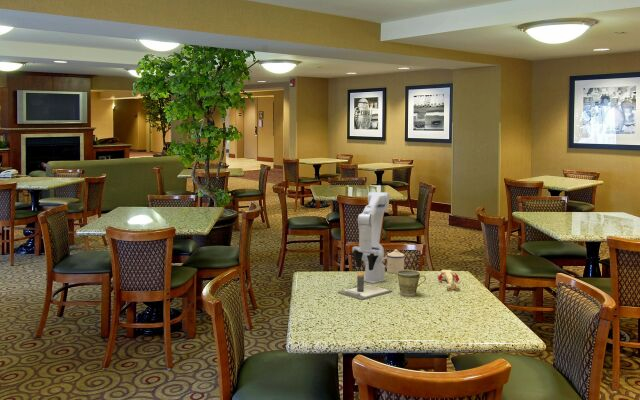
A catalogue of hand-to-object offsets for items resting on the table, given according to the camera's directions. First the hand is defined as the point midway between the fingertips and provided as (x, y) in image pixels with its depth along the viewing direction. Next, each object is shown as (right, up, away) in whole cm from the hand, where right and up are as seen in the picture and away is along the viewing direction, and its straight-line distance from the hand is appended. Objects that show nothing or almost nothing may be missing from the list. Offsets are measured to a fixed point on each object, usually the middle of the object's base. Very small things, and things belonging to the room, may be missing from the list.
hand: (364, 268), depth 276 cm
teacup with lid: (+17, -6, +34) cm, 39 cm away
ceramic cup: (+20, -11, -9) cm, 24 cm away
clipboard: (0, -10, -6) cm, 12 cm away
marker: (-3, -9, -7) cm, 12 cm away
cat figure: (+41, -9, +10) cm, 43 cm away
